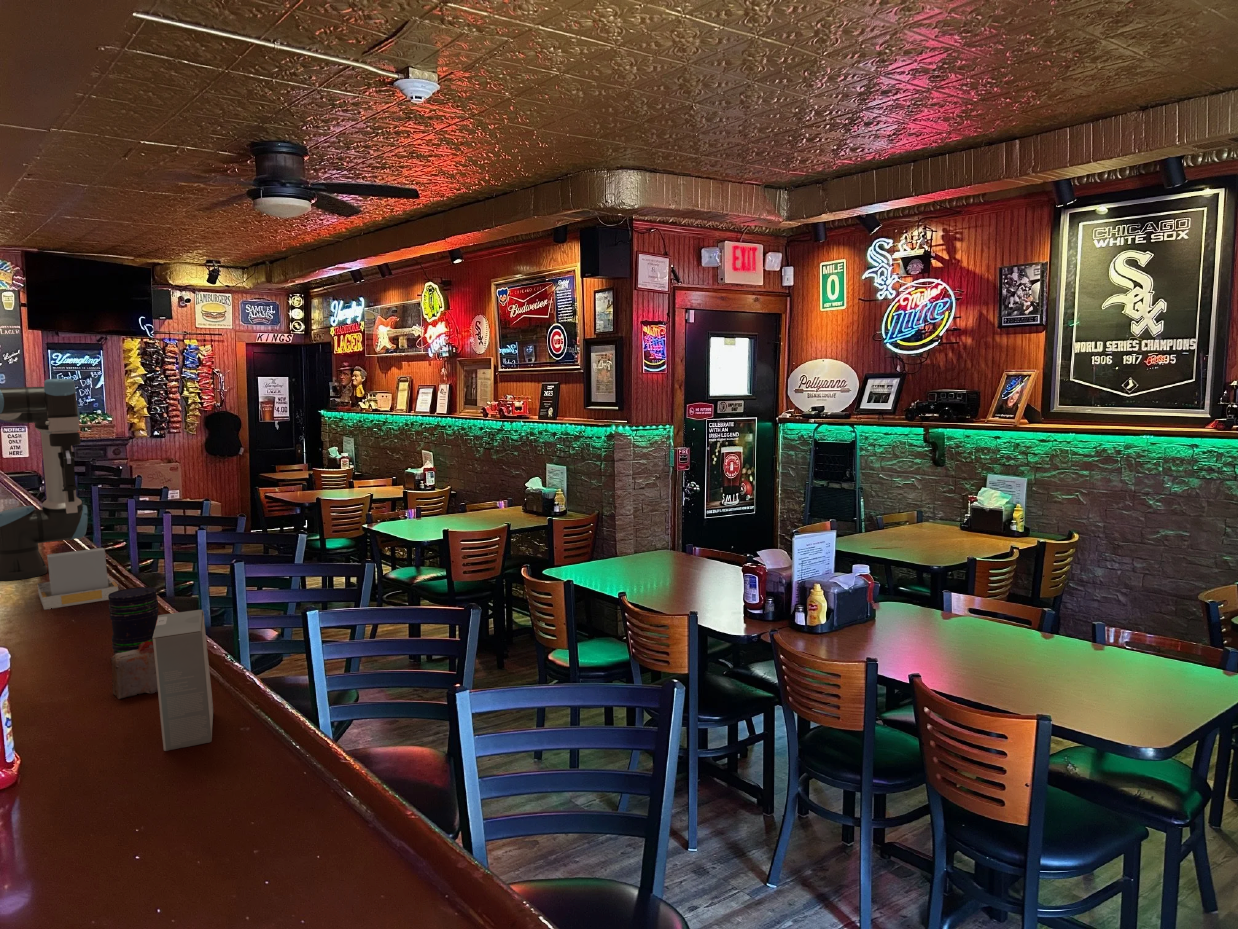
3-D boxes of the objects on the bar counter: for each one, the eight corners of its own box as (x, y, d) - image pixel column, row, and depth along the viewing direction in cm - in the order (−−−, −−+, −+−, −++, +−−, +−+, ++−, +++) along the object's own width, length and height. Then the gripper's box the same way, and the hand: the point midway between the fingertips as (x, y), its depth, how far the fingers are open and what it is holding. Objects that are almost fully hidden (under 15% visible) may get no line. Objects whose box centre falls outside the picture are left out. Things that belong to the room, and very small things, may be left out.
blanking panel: (51, 601, 250) (47, 554, 249) (107, 593, 258) (102, 547, 257) (53, 605, 246) (48, 557, 245) (109, 596, 254) (104, 550, 253)
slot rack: (38, 594, 262) (37, 582, 262) (108, 584, 274) (107, 573, 273) (44, 610, 243) (42, 597, 243) (119, 598, 254) (118, 586, 254)
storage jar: (107, 664, 191) (101, 599, 189) (120, 651, 200) (114, 589, 199) (156, 659, 193) (151, 594, 192) (167, 647, 203) (161, 585, 202)
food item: (184, 676, 182) (180, 630, 181) (194, 685, 176) (190, 638, 175) (111, 692, 173) (106, 645, 172) (118, 703, 167) (113, 653, 166)
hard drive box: (167, 720, 157) (158, 614, 155) (213, 712, 160) (204, 608, 158) (162, 752, 143) (151, 636, 141) (212, 743, 146) (203, 629, 144)
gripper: (47, 432, 251) (54, 511, 253) (50, 433, 240) (58, 516, 243) (77, 430, 255) (84, 509, 257) (81, 432, 245) (89, 513, 247)
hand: (72, 512), depth 250 cm, fingers closed
